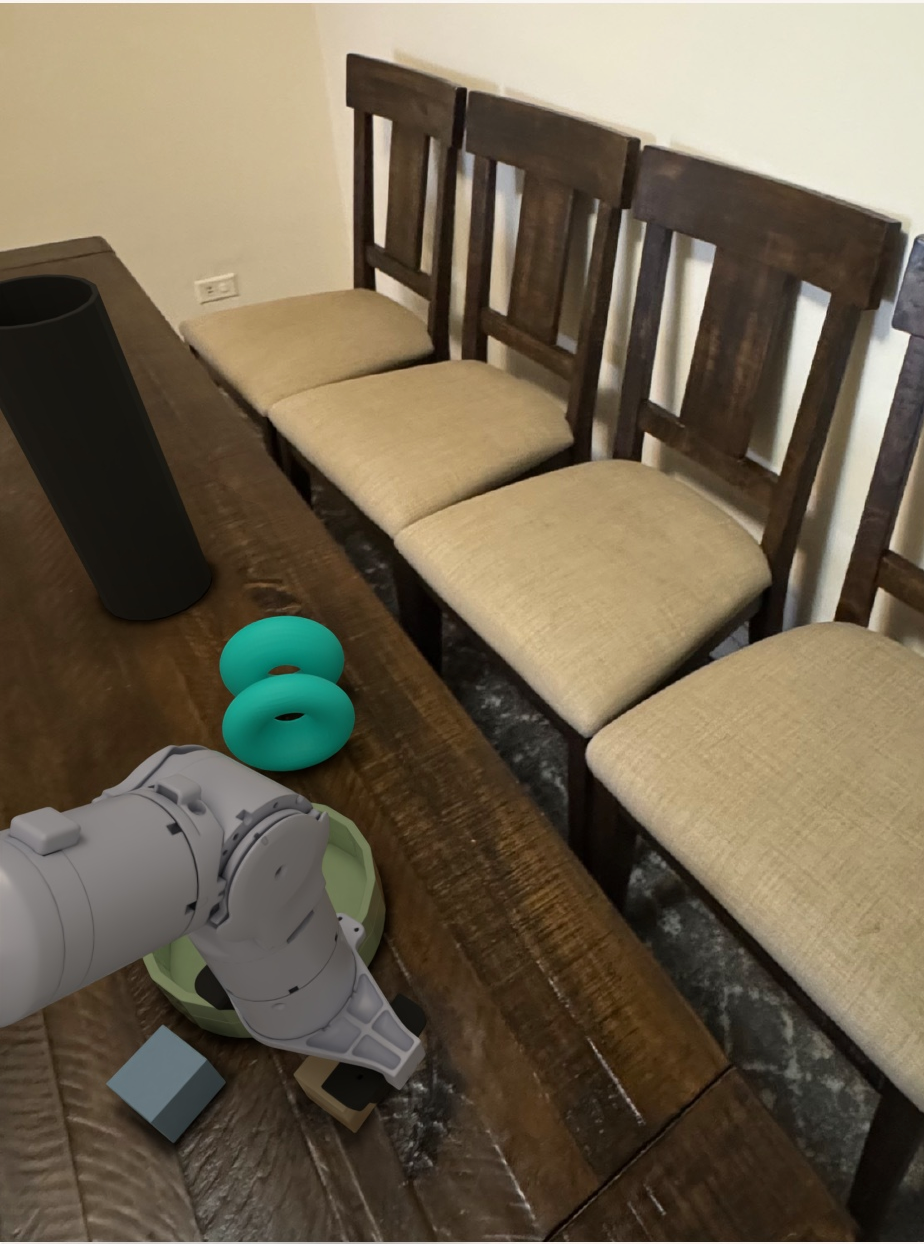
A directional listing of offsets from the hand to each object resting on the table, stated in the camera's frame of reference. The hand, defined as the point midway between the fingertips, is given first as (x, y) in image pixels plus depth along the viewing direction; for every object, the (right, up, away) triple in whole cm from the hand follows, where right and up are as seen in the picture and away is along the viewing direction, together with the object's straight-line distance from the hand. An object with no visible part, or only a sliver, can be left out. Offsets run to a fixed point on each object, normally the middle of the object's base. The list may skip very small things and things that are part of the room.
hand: (335, 1048), depth 50 cm
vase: (-31, +28, +38) cm, 56 cm away
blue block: (-11, -5, +3) cm, 12 cm away
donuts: (-11, +15, +25) cm, 31 cm away
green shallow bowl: (-8, +3, +11) cm, 14 cm away
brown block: (0, -4, +4) cm, 6 cm away
